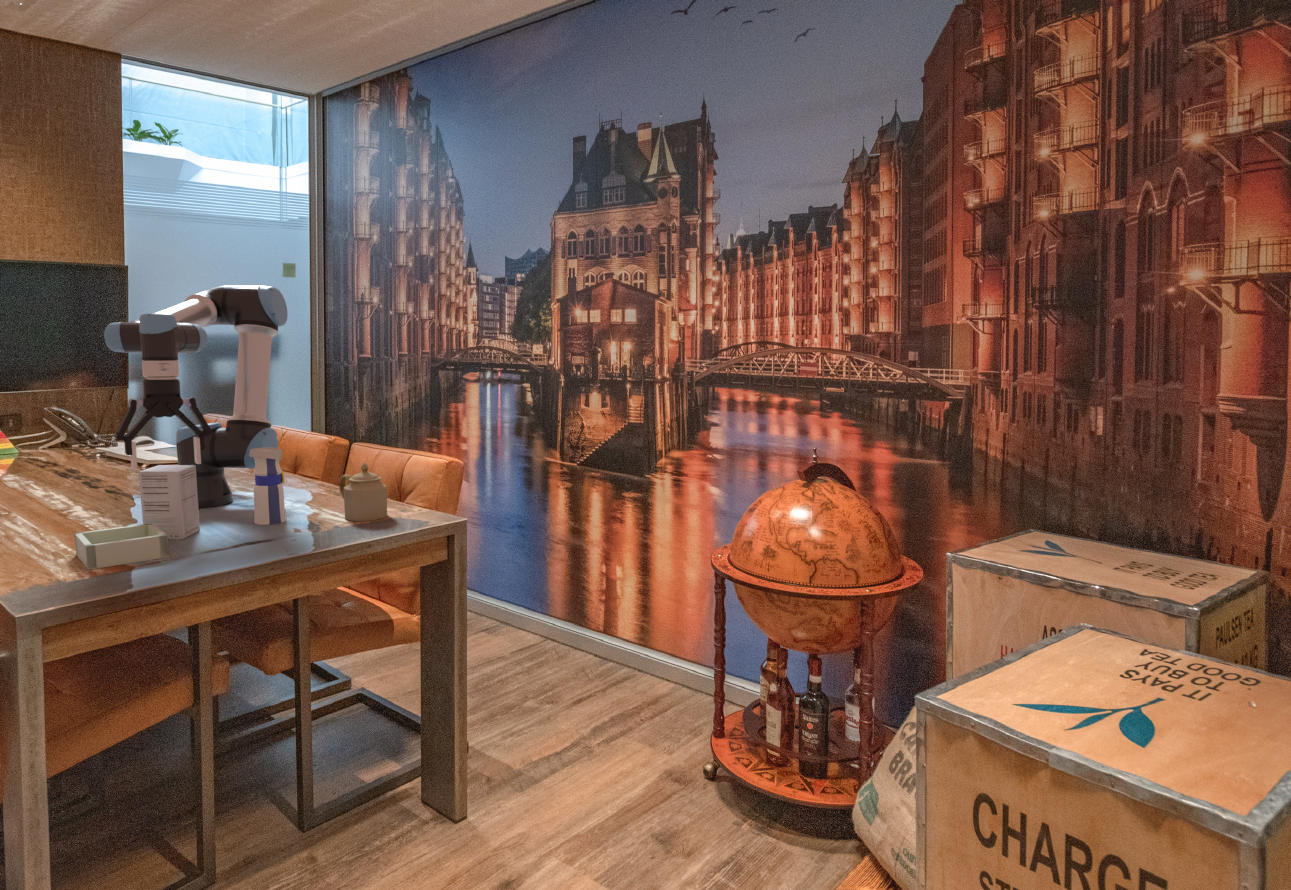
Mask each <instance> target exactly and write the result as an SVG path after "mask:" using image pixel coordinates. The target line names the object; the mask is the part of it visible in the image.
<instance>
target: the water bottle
mask: <svg viewBox="0 0 1291 890" xmlns="http://www.w3.org/2000/svg"><path fill="white" fill-rule="evenodd" d="M280 430H281V437H282V439H284V433H283V432H284V431H283V427H281V428H280ZM283 452H284V451H283V448H282V449H279V448H275V447H265V448H255V449H251V450H250V454H249V456H250V457H254V460H255V468H254V469H253V472H252V474H253V475H254V481H255V482H254V483H255V484H254V486H253V487H254V488H253V503H254V504H253V506H254V507H253V508H254V512H253V513H254V514H253V515H254V517H253V519H254V520H253V522H254V524H256V525H260V526H263V525H276V524H281V523H285V522H287V516H286V514H287V513H286V508H285V493H284V492H285V491H284V487H283V484H284V482H285V474H284V472H283V470H282V467H281V466H280V461H281V462H283V461H282V456H283Z"/></svg>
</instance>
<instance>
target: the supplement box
mask: <svg viewBox="0 0 1291 890" xmlns="http://www.w3.org/2000/svg"><path fill="white" fill-rule="evenodd" d="M138 478H139V479H138V480H139V491H140V503H141V516H142V524H149V523H152V524H154V525H155V526H156V527H158V528H159V529H160V530H161V531H163V532H164V533H165V534H167V536H168V540H184V539H186V538H188V537H189V536H191V535H194V534H195V533H197V532H198V531H200V530H201V524H200V522H201V521H200V511H199V508H198V494H197V479H196V466H195V465H178V464H157V465H155V466H152V467H149V468H146V469H144V470H140V471H138Z"/></svg>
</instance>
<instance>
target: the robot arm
mask: <svg viewBox="0 0 1291 890" xmlns="http://www.w3.org/2000/svg"><path fill="white" fill-rule="evenodd" d="M288 313H289V312H288V307H287V302H286V300H285V297H284V295H283V293H282V292H281V291H280V289H278V288H277V287H276V286H271V285H270V286H269V285H268V286H267V285H263V284H259V285H232V284H231V285H228V284H225V285H220V286H215V287H211V288H207V289H204V290H202V291H199V292H196V293H193V294H191V295H188V296H187V297H186V298H185V299H184V301H183V302H180V303H178V304H175V305H173V306H170V307H167V308H164V309H161V310H159V311H156V312H153V313H152V312H149V313H147V312H146V313H142V314H140V315H139V318H137V319H134V320H131V321H128V322H126V321H125V322H123V321H119V322H116V321H115V322H111V323H109V324H107V326H106V327H105V329H104V332H103V338H104V341H105V345H106V347H107V348H108V349H109V350H111V351H112V352H115V353H124V354H129V353H130V354H132V353H134V354H136V353H137V354H139V353H141V369H142V377H143V378H145V379H144V380H143V381H142V383H143V384H142V385H143V399H142V400H140V399H139V400H136V399H133V398H131V399H129V400H128V407H127V410H126V412H125V414H124V416H123V418H122V420H121V422H120V424H119V426H118V428H117V430H116V432H115V434H114V439H116V440H120V441H123V443H124V453H125V455H126V456H130V465H131V466H130V467H131V469H133V470H138V457H137V456H138V455H137V443H136V441H134V440H133V439H134V438H135V437H136V436H137V435H138V434H139V433H140V431H141V430H143V428H144V427H145V426H146V425H147V423H148V422H149V421H150V420H151V419H153V418H154V417H155V418H156V419H157V418H163V417H166V418H172V417H174V416H176V417H177V419H179V420H180V421H181V422H182V423H183V424H184V425H186V426H183V427H180V428H178V429H177V430H176V434H175V435H176V436H175V437H176V439H175V445H176V456H177V458H176V459H177V465H195V466H196V479H197V494H198V508H211V507H218V506H222V505H223V506H224V505H226V504H229V503H232V502H233V500H234V499H233V498H234V497H233V492H232V490H231V487H230V486H229V482H228V480H227V478H226V476H225V469H230V468H231V469H249V470H254V469H255V460H254V457H250V456H249V454H250V450H251V449H255V448H265V447H275V448H278V447H279V438H278V434H277V431H276V430H275V429H273V428H272V423H271V422H270V421H269V419H268V418H267V406H268V394H269V383H270V382H269V381H270V378H269V377H270V368H271V365H270V364H271V354H272V341H273V338H274V337H275V336H277V335H278V332H279V327H283V326H285V324H286V322H287V321H288ZM214 325H215V326H217V325H219V326H220V325H221V326H224V325H225V326H227V325H228V326H229V325H230V326H234V327H233V328H234V330H235V331H236V332H237V334H238V335H239V337H238V349H237V351H238V352H237V361H236V376H235V387H234V388H235V389H234V399H233V401H234V402H233V411H232V412H233V414H232V416H230V417H229V418H228V419H227V420H226V425H225V426H226V427H223V425H222V423H221V422H217V421H216V422H209V423H208V422H207V420H206V419H205V417H204V415H203V414H202V412H201V411H200V409H199V408H198V405H197V401H196V398H195V397H191V396H190V397H188V398H182V397H181V384H180V383H181V382H180V380H179V379H178V377H179V376H180V368H179V354H191V355H192V354H194V353H199V352H201V351H203V350H204V349H205V348H206V347H207V345H208V338H209V337H208V335H207V332H206V330H205V329H204V328H208V327H210V326H214ZM183 405H185V407H187V408H189V409H190V411H191V413H192V415H193V416H194V418H195V419H196V421H197V423H198V424H194V422H193V421H191V420H190V418H188V417H187V416H186V415H185V414H184V413H183V412H182V411H181V410H180V409H181V407H183ZM141 406H143V407H144V408H145V410H146V411H145V412H144V413H143V414H142V416H141V417H140V418H139V420H138V421H136V423H135V424H134V425H133V426H132V427H131V428H130V430H129V431H128V432H127V430H128V428H129V426H130V424H131V422H132V420H133V418H134V416H135V414H136V412H137V410H139V409H140V407H141ZM126 432H127V434H126ZM278 449H279V448H278Z"/></svg>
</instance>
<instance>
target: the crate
mask: <svg viewBox="0 0 1291 890" xmlns="http://www.w3.org/2000/svg"><path fill="white" fill-rule="evenodd" d="M74 544H75V552H76V553H75V554H76V556H77V558H78V559H79V560H80V562H81V563H82V564H83V565H84V566H85V568H86V569H87V570H95V569H102V568H108V567H113V566H121V565H127V564H133V563H141V562H145V561H152V560H158V559H159V560H161V559H165V558H170V553H169V552H170V550H169V539H168V536H167V534H165V533H164V532H163V531H161V530H160V529H159V528H158V527H156V526H155V525H154V524H152V523H149V524H143V523H142V524H135V525H127V526H120V527H113V528H104V529H103V528H102V529H95V530H89V531H82V532H81V531H80V532H74Z"/></svg>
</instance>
